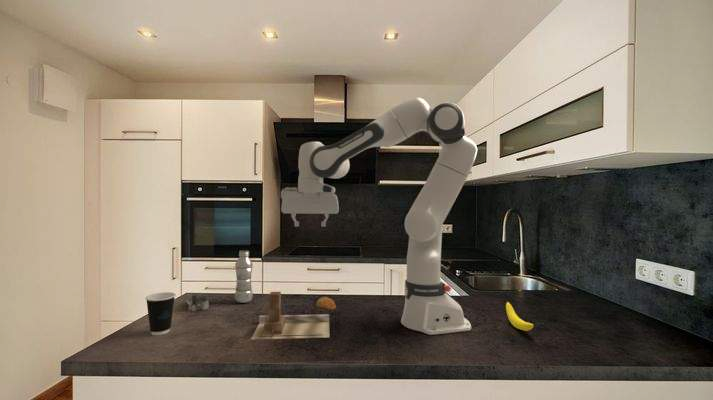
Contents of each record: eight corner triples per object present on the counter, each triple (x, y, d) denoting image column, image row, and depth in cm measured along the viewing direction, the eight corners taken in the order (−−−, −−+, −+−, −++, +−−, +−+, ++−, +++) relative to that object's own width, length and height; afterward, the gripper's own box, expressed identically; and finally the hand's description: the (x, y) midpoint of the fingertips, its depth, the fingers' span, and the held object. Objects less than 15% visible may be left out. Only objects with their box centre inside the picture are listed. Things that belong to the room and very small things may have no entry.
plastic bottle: (247, 305, 127) (247, 252, 127) (231, 303, 128) (231, 252, 128) (255, 300, 133) (256, 250, 133) (240, 298, 135) (240, 249, 135)
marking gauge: (284, 324, 104) (284, 289, 104) (281, 335, 97) (281, 297, 97) (268, 325, 104) (268, 290, 104) (263, 335, 96) (264, 297, 96)
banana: (527, 341, 99) (528, 319, 99) (502, 318, 118) (502, 300, 118) (537, 341, 98) (538, 320, 98) (510, 318, 117) (511, 300, 117)
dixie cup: (155, 326, 105) (155, 291, 105) (180, 327, 105) (180, 292, 105) (138, 337, 97) (139, 299, 97) (165, 337, 97) (166, 300, 97)
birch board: (329, 325, 109) (329, 314, 109) (329, 342, 96) (329, 330, 96) (259, 326, 107) (259, 315, 107) (250, 344, 94) (251, 332, 94)
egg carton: (209, 310, 122) (209, 299, 122) (185, 312, 119) (186, 301, 119) (209, 301, 132) (209, 291, 132) (188, 303, 129) (188, 292, 129)
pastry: (340, 312, 121) (340, 302, 121) (322, 315, 118) (322, 304, 118) (330, 305, 130) (330, 295, 130) (314, 307, 127) (314, 297, 127)
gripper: (279, 186, 115) (279, 227, 115) (339, 187, 117) (338, 227, 117) (282, 187, 121) (281, 225, 121) (338, 188, 123) (337, 225, 123)
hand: (310, 226), depth 119 cm, fingers open, 8 cm apart
